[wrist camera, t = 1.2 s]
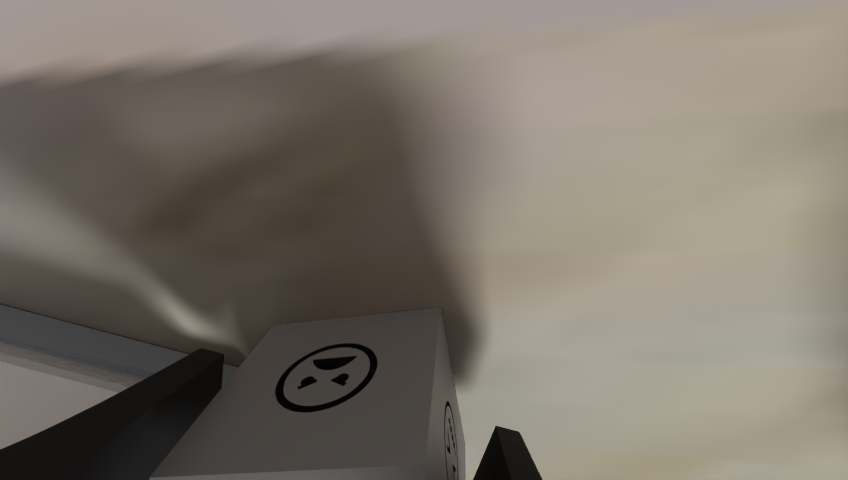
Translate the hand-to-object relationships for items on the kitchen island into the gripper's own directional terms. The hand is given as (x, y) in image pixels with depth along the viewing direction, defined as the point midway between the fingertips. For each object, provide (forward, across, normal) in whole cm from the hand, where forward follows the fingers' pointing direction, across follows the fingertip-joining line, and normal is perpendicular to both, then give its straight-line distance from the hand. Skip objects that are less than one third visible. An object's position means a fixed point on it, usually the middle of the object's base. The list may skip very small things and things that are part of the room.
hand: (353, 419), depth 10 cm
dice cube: (+2, 0, 0) cm, 2 cm away
